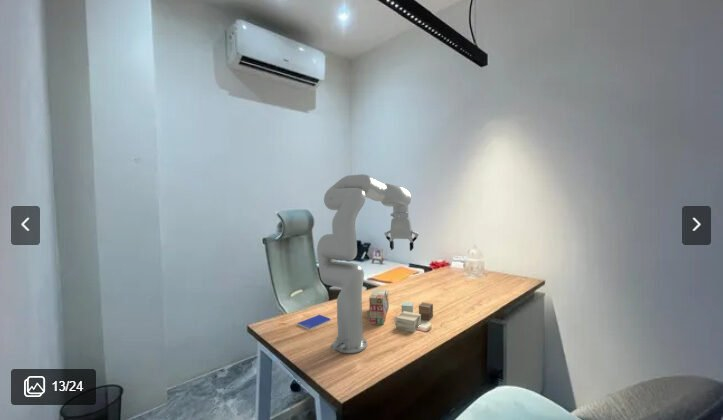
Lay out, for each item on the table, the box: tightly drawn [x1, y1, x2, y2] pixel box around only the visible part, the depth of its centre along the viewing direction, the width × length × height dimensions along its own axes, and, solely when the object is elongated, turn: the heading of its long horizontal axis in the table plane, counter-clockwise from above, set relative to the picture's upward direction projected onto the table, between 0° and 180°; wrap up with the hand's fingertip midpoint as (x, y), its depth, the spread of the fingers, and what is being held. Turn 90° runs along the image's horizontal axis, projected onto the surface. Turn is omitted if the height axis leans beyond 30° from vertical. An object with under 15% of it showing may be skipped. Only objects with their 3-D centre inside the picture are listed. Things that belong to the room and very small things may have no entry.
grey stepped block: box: [396, 311, 422, 333], centre depth 129 cm, size 8×8×5 cm
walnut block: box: [418, 301, 434, 321], centre depth 138 cm, size 5×5×6 cm
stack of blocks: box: [368, 288, 390, 326], centre depth 142 cm, size 21×6×12 cm, turn 169°
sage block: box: [401, 301, 414, 313], centre depth 140 cm, size 5×5×6 cm
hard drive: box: [297, 314, 332, 331], centre depth 135 cm, size 2×8×12 cm
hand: (401, 249), depth 149 cm, fingers open, 9 cm apart
